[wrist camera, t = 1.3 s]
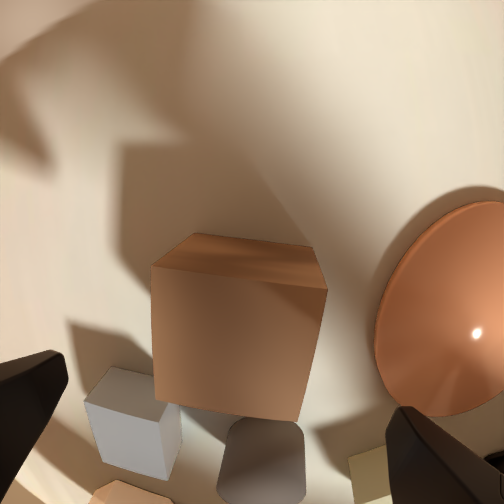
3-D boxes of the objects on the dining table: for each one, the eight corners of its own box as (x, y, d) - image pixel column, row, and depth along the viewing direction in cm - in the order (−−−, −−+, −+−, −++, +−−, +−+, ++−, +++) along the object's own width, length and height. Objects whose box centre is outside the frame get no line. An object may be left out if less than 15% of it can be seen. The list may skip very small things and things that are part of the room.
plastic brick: (179, 379, 16) (158, 422, 13) (182, 440, 17) (167, 481, 14) (112, 364, 16) (83, 400, 13) (124, 425, 17) (102, 461, 14)
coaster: (566, 224, 12) (574, 226, 11) (505, 400, 15) (511, 407, 14) (403, 177, 12) (410, 178, 12) (346, 410, 15) (349, 419, 15)
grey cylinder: (311, 417, 16) (315, 472, 12) (296, 464, 17) (296, 514, 13) (230, 409, 16) (218, 463, 12) (225, 456, 17) (215, 505, 13)
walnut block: (312, 246, 14) (327, 289, 9) (294, 349, 15) (297, 421, 10) (194, 232, 14) (150, 266, 9) (190, 335, 15) (155, 399, 10)
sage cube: (407, 434, 16) (425, 481, 12) (413, 465, 17) (427, 507, 13) (347, 456, 16) (355, 505, 13) (359, 484, 17) (366, 528, 13)
